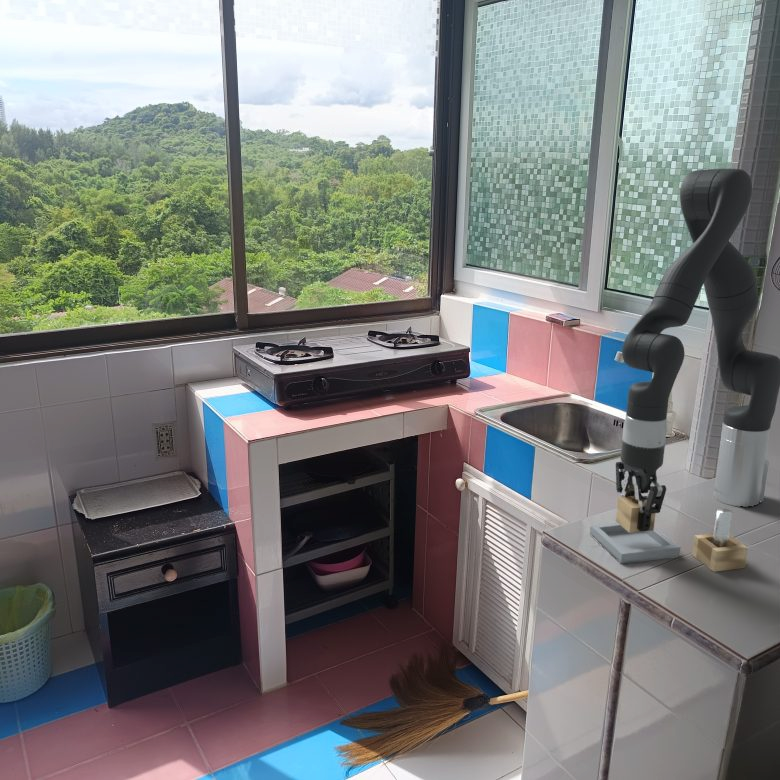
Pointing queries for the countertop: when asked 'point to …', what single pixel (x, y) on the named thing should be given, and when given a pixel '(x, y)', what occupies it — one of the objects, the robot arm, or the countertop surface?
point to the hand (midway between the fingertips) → (634, 523)
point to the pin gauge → (722, 527)
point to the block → (630, 514)
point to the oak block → (719, 553)
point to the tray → (634, 543)
